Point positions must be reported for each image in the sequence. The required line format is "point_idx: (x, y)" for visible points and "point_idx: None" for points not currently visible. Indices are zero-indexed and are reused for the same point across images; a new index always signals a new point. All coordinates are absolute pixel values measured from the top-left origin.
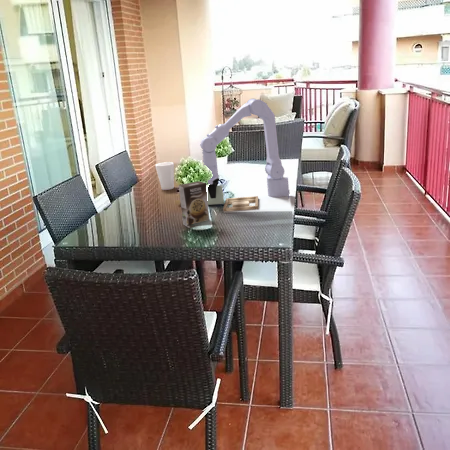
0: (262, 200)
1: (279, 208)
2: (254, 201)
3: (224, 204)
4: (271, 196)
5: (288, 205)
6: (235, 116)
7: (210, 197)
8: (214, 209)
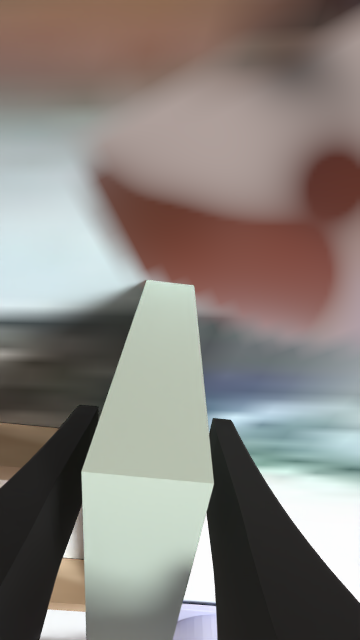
0: (190, 586)
1: None
2: None
3: (3, 465)
4: (181, 635)
5: (59, 636)
6: None
7: (74, 411)
8: (68, 356)
